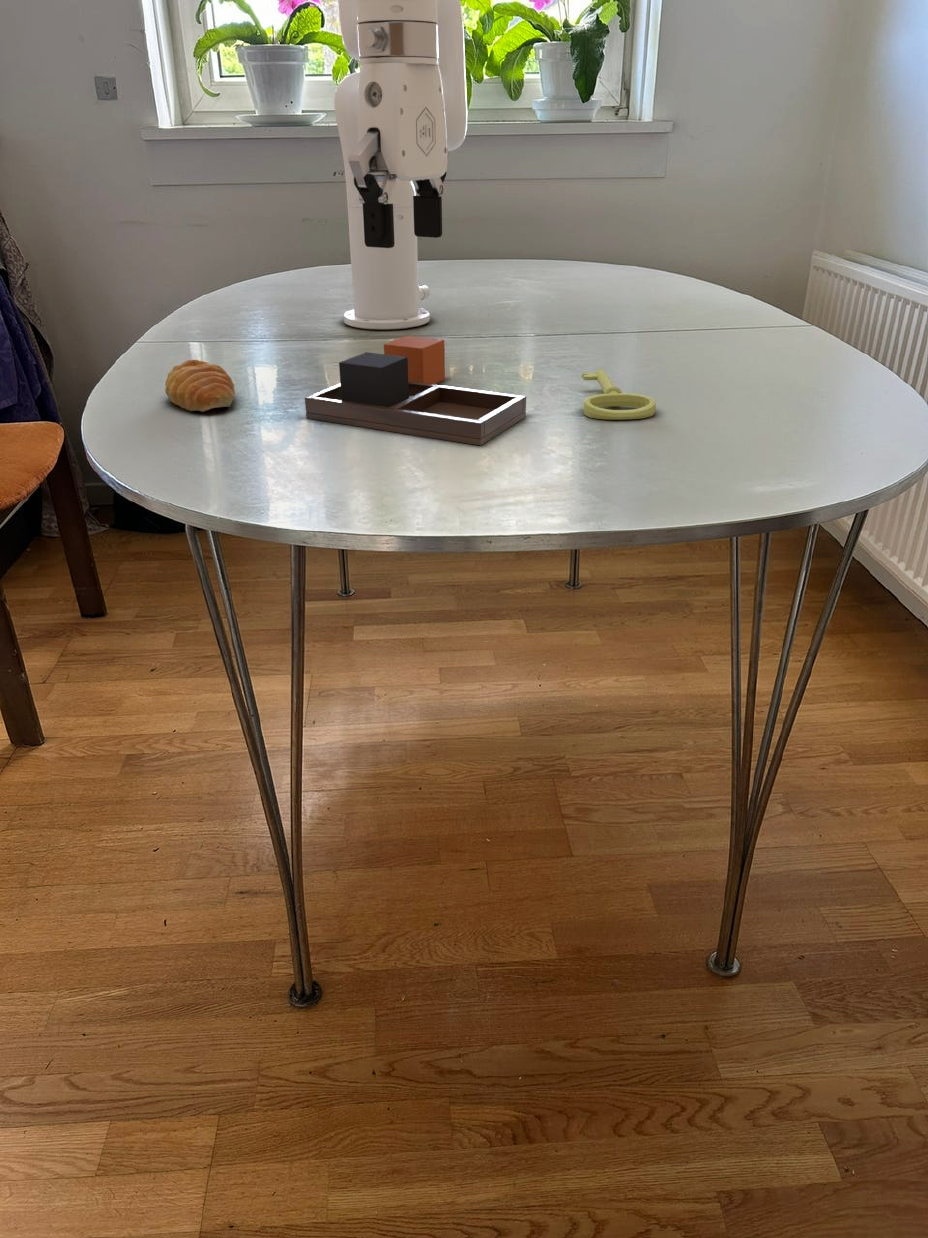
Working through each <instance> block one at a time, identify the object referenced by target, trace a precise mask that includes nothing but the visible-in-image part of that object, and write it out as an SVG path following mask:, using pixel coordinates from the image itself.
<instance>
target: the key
mask: <svg viewBox="0 0 928 1238" xmlns="http://www.w3.org/2000/svg"><path fill="white" fill-rule="evenodd" d="M581 378H582V380H583V381H597V383H598V384H599V386H600V388H601V390H602V392H603V393H599V394H594V395H590V396H587V397H586V398H585V399H584V402H583V405H582V409H583V415H585V416H586V417H588V418H591V419H597V420H611V421H613V420H617V421H618V420H638V419H645V418H646V419H647V418H650V417H653V416H654V414H655V412H656V409H657V405H656V401H655V399H654V398H652V397H651V396H647V395H644V394H639V393H628V392H627V393H624V392H622V390H621V388H620V387H617V386H615V385H613V383H612V381H611V379H610V377H609V376H608V374H607V373H606V370H605V369H603V368H598V369H596V371H595V372H581ZM609 407H629V408H631V407H632V408H634V409H621V410H620V409H609ZM607 408H608V409H607Z"/></svg>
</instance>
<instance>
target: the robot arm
mask: <svg viewBox="0 0 928 1238" xmlns="http://www.w3.org/2000/svg"><path fill="white" fill-rule="evenodd" d="M337 1H338V2H337V3H338V11H339V12H338V14H339V25H340V26H339V27H340V32H341V39H342V43H343V47H344V49H345V51H346V53H347V54H348V56H349V57H350V58H352V59H354V60H355V61H358V63H359V71H357V72H353V73H351V74H347V76H345V77H343V79H341V80H340V81H339V83H338V84H337V86H336V89H335V92H334V101H333V103H334V113H335V120H336V121H335V122H336V125H337V130H338V136H339V141H340V146H341V147H340V148H341V154H342V160H343V167H344V178H345V189H346V190H345V191H346V203H347V204H346V205H347V221H348V237H349V251H350V253H349V254H350V267H351V268H350V269H351V285H352V286H351V287H352V300H353V302H352V303H353V309H351V310H348V311H345V313H344V314H343V316H342V317H343V323H344V324H345V325H347V326H349V327H352V328H357V329H365V330H400V329H409V328H414V327H415V328H416V327H420V326H423V325H425V324H428V323H429V322H430V320H431V313H430V312H429V311H428V309H427V310H426V309H424V308H421V304H420V303H421V301H424V300H428V299H429V298H430V296H431V290H430V287H428V286H427V285H422V286H420V285H419V261H418V260H419V259H418V237H419V238H433V239H435V238H441V237H442V236H443V195H444V193H445V186H444V182H445V179H446V177H447V171H448V160H449V155H450V154H449V152H452V151H456V150H457V149H459V148H460V147H461V146H462V145H463V143H464V141H465V138H466V135H467V130H468V96H467V78H466V77H467V75H466V54H465V51H466V50H465V31H464V30H465V29H464V18H463V17H464V16H463V9H462V8H463V7H462V3H461V0H337Z"/></svg>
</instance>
